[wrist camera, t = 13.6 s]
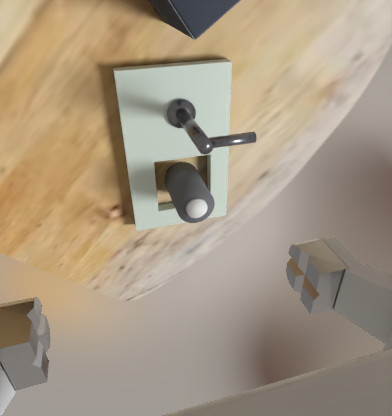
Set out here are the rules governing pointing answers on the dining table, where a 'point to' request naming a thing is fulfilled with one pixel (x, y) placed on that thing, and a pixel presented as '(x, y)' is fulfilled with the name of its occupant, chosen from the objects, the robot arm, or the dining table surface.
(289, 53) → the dining table surface
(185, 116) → the grey angled rod part
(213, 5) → the small box
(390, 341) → the robot arm
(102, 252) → the dining table surface
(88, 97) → the dining table surface
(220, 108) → the pale green board
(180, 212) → the grey cylinder with ball
